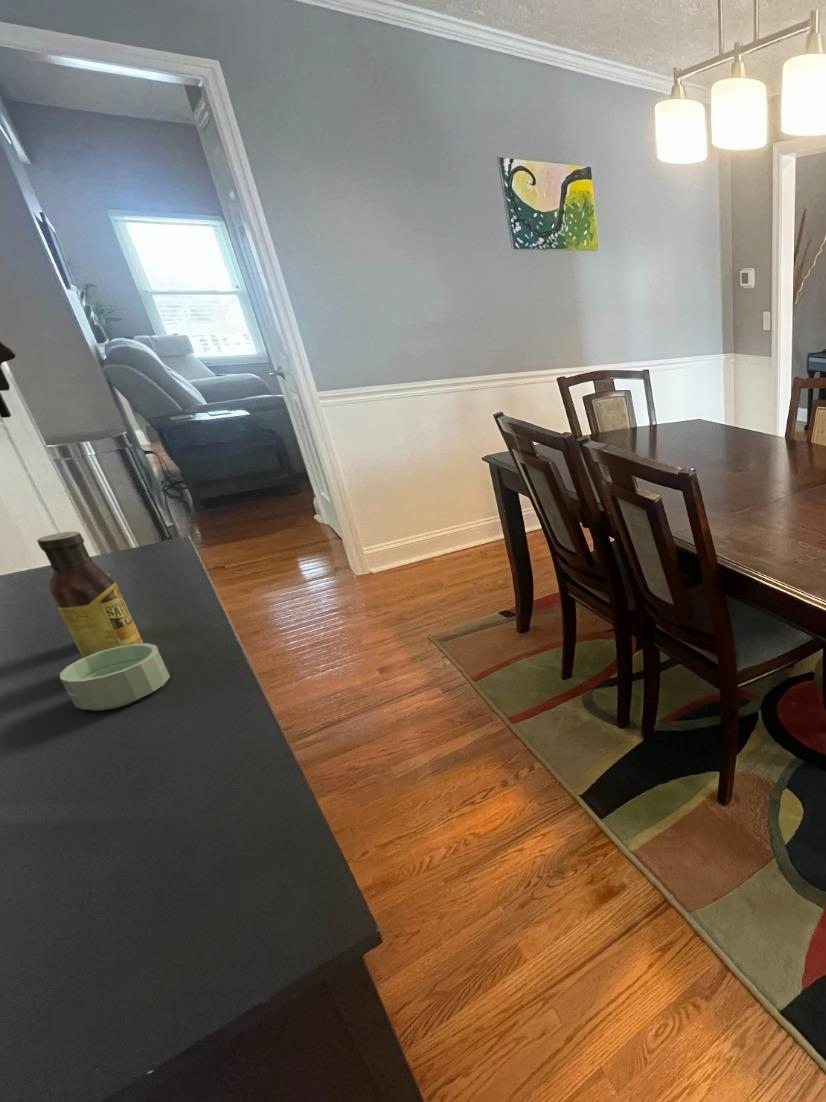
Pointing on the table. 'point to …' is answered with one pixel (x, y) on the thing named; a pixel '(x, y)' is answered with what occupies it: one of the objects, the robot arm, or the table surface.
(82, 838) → the table surface
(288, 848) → the table surface
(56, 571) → the sauce bottle
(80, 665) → the bowl
